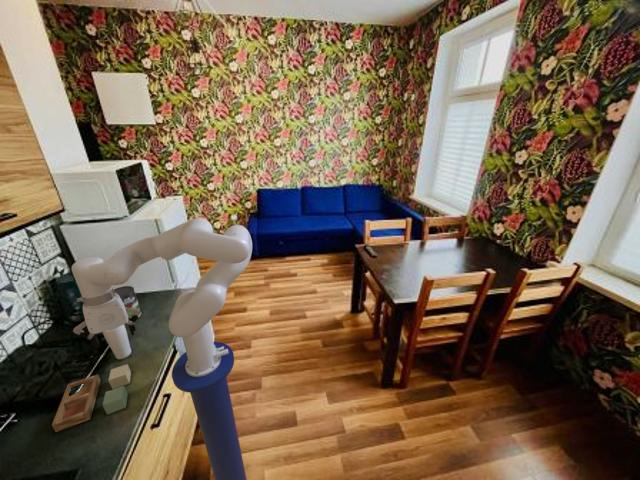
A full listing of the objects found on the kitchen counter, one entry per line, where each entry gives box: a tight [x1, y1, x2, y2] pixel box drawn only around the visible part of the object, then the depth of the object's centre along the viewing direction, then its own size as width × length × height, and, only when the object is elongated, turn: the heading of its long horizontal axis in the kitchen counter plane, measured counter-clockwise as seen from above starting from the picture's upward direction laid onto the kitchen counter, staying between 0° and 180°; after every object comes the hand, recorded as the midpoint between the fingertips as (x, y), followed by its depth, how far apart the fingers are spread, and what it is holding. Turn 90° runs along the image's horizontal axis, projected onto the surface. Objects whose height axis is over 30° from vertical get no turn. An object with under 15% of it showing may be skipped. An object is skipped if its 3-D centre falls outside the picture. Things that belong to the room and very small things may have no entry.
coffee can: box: [113, 285, 142, 318], centre depth 125 cm, size 10×10×14 cm
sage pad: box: [102, 385, 128, 415], centre depth 86 cm, size 5×5×4 cm
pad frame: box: [51, 374, 101, 433], centre depth 87 cm, size 8×16×3 cm, turn 28°
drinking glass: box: [102, 324, 132, 360], centre depth 104 cm, size 7×7×15 cm
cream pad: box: [108, 364, 132, 390], centre depth 95 cm, size 5×5×4 cm
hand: (115, 338), depth 89 cm, fingers open, 9 cm apart
